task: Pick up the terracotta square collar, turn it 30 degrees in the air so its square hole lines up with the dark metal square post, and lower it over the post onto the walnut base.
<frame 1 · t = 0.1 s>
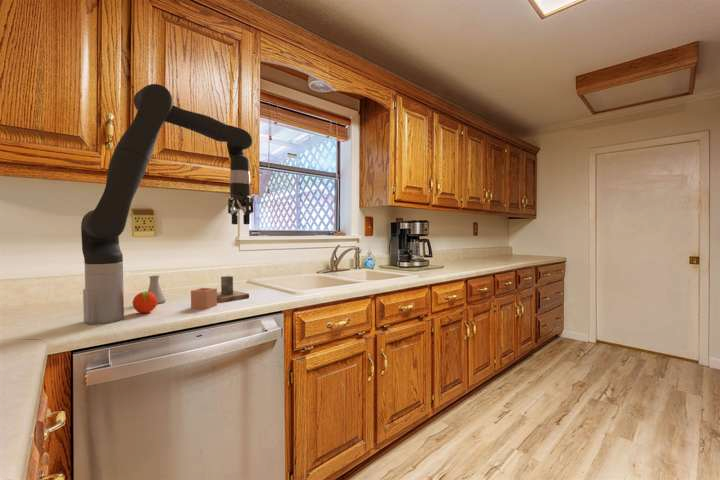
hand: (240, 224, 138), 29 cm above the counter, fingers open, 8 cm apart
flask: (154, 303, 129), on the counter
red tomato: (145, 313, 113), on the counter
post base: (227, 297, 138), on the counter
collar: (204, 306, 123), on the counter
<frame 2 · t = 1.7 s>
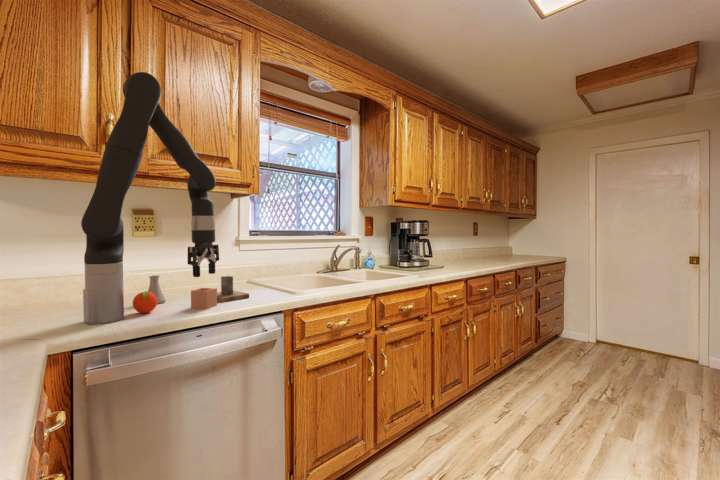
hand: (204, 275, 123), 11 cm above the counter, fingers open, 8 cm apart
nothing on the counter moved.
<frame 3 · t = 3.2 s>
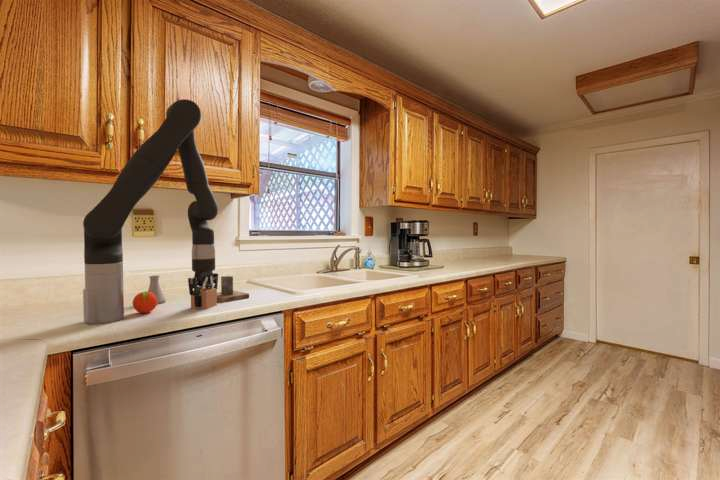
hand: (204, 304, 123), 1 cm above the counter, fingers closed on collar, 6 cm apart
collar: (204, 306, 123), on the counter, touching gripper
everything else where it was.
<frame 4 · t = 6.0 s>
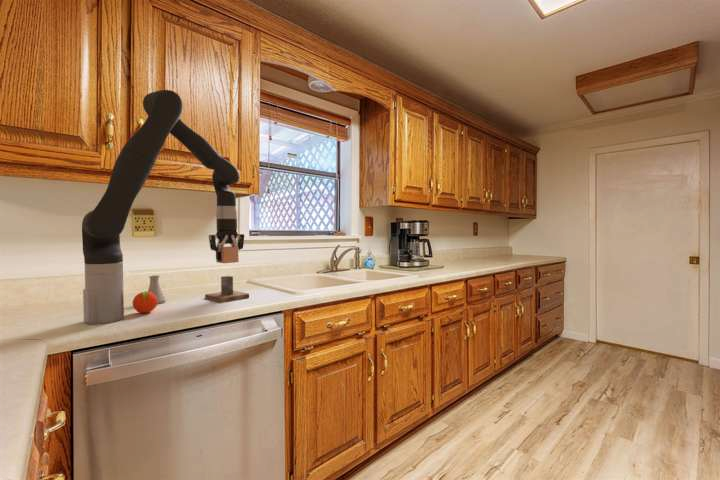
hand: (227, 260, 138), 15 cm above the counter, fingers closed on collar, 6 cm apart
collar: (227, 262, 138), point 14 cm above the counter, touching gripper
everything else where it was.
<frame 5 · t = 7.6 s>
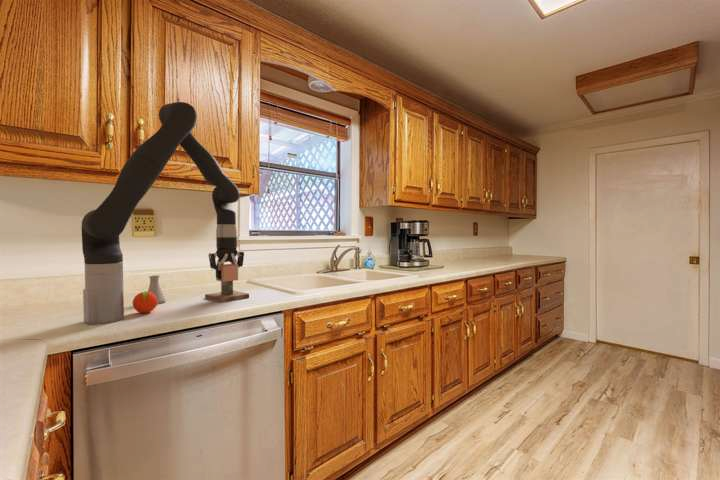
hand: (227, 278, 138), 8 cm above the counter, fingers closed on collar, 6 cm apart
collar: (227, 280, 138), point 7 cm above the counter, touching gripper
everything else where it was.
when the fingers open (4 cm above the counter, at t = 8.9 s): collar drops 1 cm, resting on post base.
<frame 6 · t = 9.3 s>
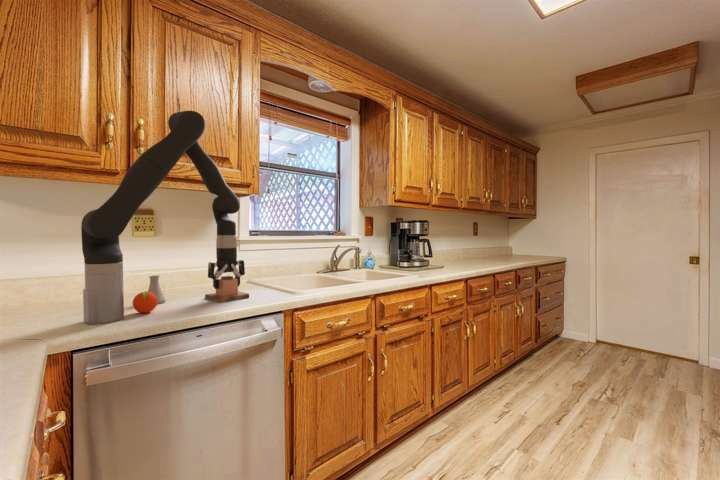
hand: (227, 287, 138), 4 cm above the counter, fingers open, 8 cm apart
collar: (226, 294, 138), point 1 cm above the counter, touching post base
everything else where it was.
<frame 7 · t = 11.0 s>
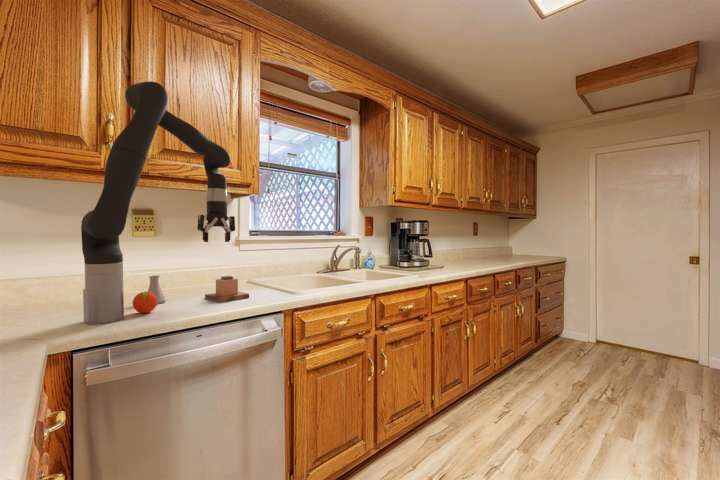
hand: (216, 242, 138), 22 cm above the counter, fingers open, 8 cm apart
nothing on the counter moved.
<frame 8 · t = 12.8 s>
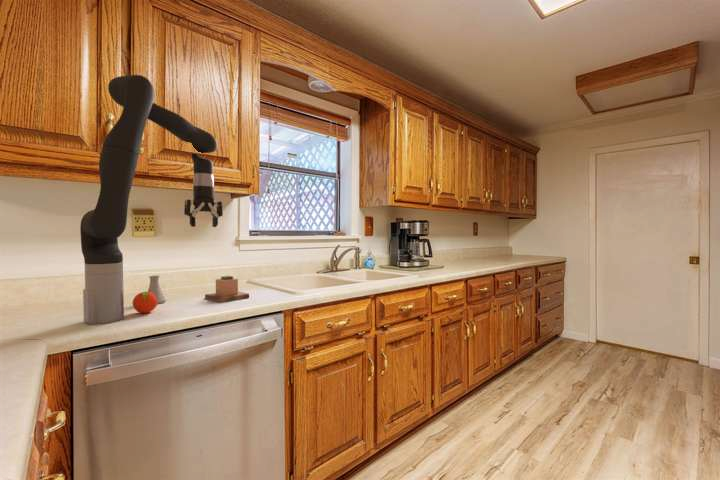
hand: (204, 226, 139), 28 cm above the counter, fingers open, 8 cm apart
nothing on the counter moved.
at the end: collar 0.1 cm off-centre on the post base, point 1.5 cm above the post base's base; collar tilted 0°; the gripper is holding nothing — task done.
